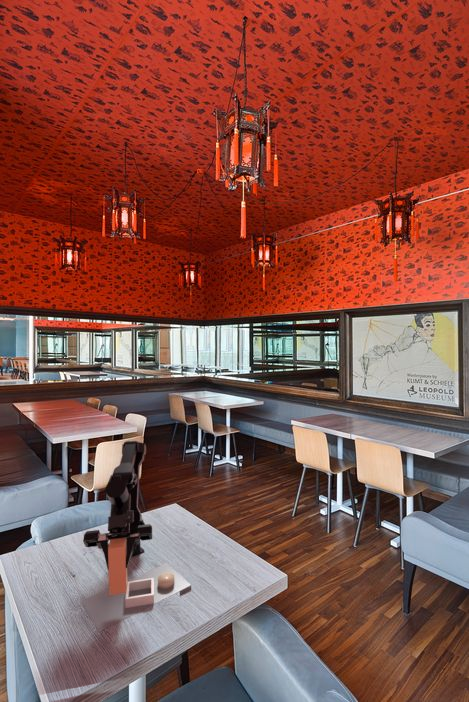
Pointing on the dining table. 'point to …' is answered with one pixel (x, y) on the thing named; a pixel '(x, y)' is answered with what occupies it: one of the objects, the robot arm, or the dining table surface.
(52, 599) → the dining table surface
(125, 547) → the orange square prism
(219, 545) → the dining table surface
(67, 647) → the dining table surface
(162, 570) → the board
